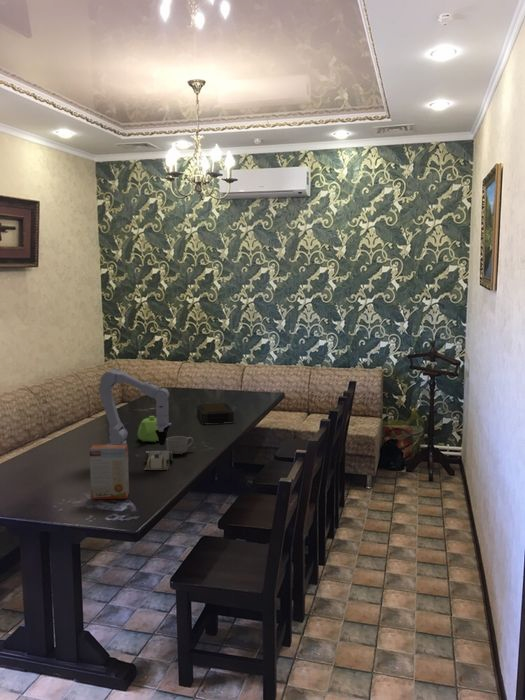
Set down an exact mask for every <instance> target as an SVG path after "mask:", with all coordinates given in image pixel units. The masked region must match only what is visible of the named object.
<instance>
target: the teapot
mask: <svg viewBox="0 0 525 700" xmlns="http://www.w3.org/2000/svg"><path fill="white" fill-rule="evenodd" d="M138 426H139V427H138V429H137V437H138V439H139V440H140V441H141V442H152V443H153V442H155V443H157V442H159V440H158V436H157V434H156V432H155V431H156V430H159V429H158V427H157V426H156V415H149V416H148V417H146V418H144V419H142V421H141V422H140V424H139V425H138ZM156 441H157V442H156Z"/></svg>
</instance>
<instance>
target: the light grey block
mask: <svg viewBox="0 0 525 700" xmlns="http://www.w3.org/2000/svg"><path fill="white" fill-rule="evenodd" d="M162 466H163V456H159V454H155V456H152V457H151V468H162Z"/></svg>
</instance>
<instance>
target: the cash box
mask: <svg viewBox="0 0 525 700" xmlns="http://www.w3.org/2000/svg"><path fill="white" fill-rule="evenodd" d="M197 416H198V417H197ZM196 417H197V419H198V418H199V419H198V421H199V420H200V421H199V422H200V424H201V423H203V424H205V423H224V422H233V421H234V422H235V418H234V417H235V413H234V410H233V409H232V407H231V406H230V405H229V404H228V403H227V402H226V403H223V402H222V403H200V404H197V405H196Z"/></svg>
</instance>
